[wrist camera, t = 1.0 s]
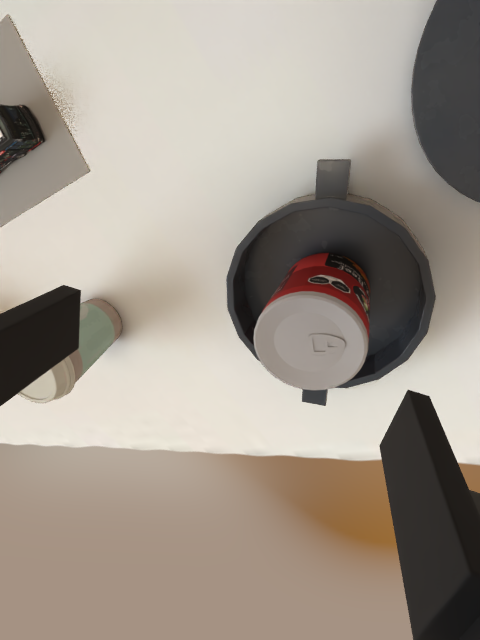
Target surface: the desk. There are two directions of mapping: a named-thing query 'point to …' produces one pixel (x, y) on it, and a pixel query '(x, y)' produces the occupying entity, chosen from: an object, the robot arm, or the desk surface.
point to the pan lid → (450, 93)
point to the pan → (349, 241)
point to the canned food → (316, 323)
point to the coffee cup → (78, 352)
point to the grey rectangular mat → (30, 133)
